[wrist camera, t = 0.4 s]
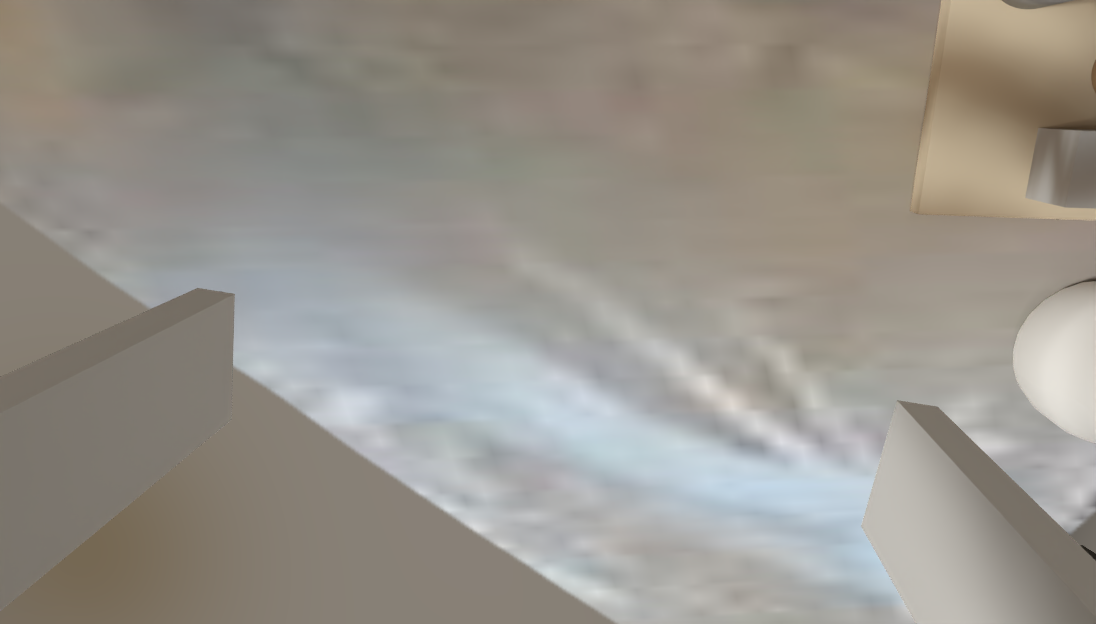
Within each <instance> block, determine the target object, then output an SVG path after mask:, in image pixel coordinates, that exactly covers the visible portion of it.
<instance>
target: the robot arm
mask: <svg viewBox="0 0 1096 624" xmlns="http://www.w3.org/2000/svg"><path fill="white" fill-rule="evenodd" d="M234 298H235V294H232V293H225V292H219V291H213V290H207V289H200V288H197V289H194V290H192V291H190V292H188V293H186V294H183V295H181V296H179V297H177V298H174V299H172V300H170V301H168V302H166V303H163V304H161V305H159V306H157V307H154V308H152V309H150V310H148V311H146V312H143V313H141V314H139V315H137V316H134V317H132V318H130V319H128V320H126V321H123V322H121V323H119V324H117V325H114V326H112V327H110V328H108V329H105V330H103V331H101V332H99V333H97V334H94V335H92V336H90V337H88V338H85V339H83V340H81V341H79V342H77V343H74V344H72V345H70V346H68V347H66V348H64V349H61V350H59V351H57V352H54V353H52V354H50V355H48V356H45V357H43V358H41V359H39V360H37V361H35V362H32V363H30V364H28V365H25V366H23V367H21V368H19V369H17V370H14V371H12V372H10V373H8V374H5V375H3V376H1V377H0V611H1V610H2V609H3V608H4V607H6V606H7V605H8V604H9V603H11V602H12V601H13V600H14V599H15V598H17V597H18V596H19V595H20V594H22V593H23V592H24V591H25V590H26V589H28V588H29V587H30V586H31V585H32V584H34V583H35V582H36V581H37V580H39V579H40V577H42V576H43V575H45V573H47V572H48V571H49V570H50V569H52V568H53V567H54V566H55V565H57V564H58V563H59V562H60V561H61V560H63V559H64V558H65V557H66V556H67V555H69V554H70V553H71V552H72V551H74V550H75V549H76V548H77V547H78V546H79V545H81V544H82V543H83V542H84V541H86V540H87V539H88V538H89V537H90V536H92V535H93V534H94V533H95V532H96V531H98V530H99V529H100V528H101V527H103V526H104V525H105V524H106V523H107V522H109V521H110V520H111V519H112V518H113V517H115V516H116V515H117V514H118V513H119V512H121V511H122V510H123V509H124V508H126V507H127V506H128V505H129V504H130V503H132V502H133V501H134V500H135V499H136V498H138V497H139V496H140V495H141V494H142V493H144V492H145V491H146V490H147V489H148V488H150V487H151V486H152V485H153V484H155V483H156V482H157V481H158V480H159V479H160V478H162V477H163V476H164V475H165V474H167V473H168V472H169V471H170V470H171V469H173V468H174V467H175V466H176V465H177V464H179V463H180V462H181V461H182V460H184V459H185V458H186V457H187V456H188V455H190V454H191V453H192V452H193V451H194V450H196V449H197V448H198V447H199V446H200V445H202V444H203V443H204V442H205V441H206V440H207V439H209V438H210V437H211V436H212V435H214V434H215V433H216V432H217V431H218V430H219V429H221V428H222V427H223V426H225V425H226V424H227V423H228V422H229V421H231V417H232V377H233V338H234ZM861 527H862V529H863V530H864V532H865V534H866V536H867V537H868V539H869V541H870V543H871V545H872V546H873V548H874V550H875V552H876V553H877V555H878V557H879V559H880V561H881V562H882V564H883V566H884V568H885V569H886V571H887V573H888V575H889V577H890V578H891V580H892V582H893V584H894V585H895V587H896V589H897V591H898V593H899V594H900V596H901V598H902V600H903V601H904V603H905V605H906V607H907V609H908V610H909V612H910V614H911V616H912V617H913V619H914V621H915V623H916V624H1096V554H1095V553H1094V552H1092V551H1091V550H1089V549H1087V548H1086V547H1084V546H1083V545H1079V544H1078V543H1077V542H1076V541H1075V540H1074V539H1073V538H1072V537H1071V536H1070V535H1069V534H1068V533H1067V532H1066V531H1065V530H1064V529H1063V528H1062V527H1061V526H1059V525H1058V524H1057V523H1056V522H1055V521H1054V520H1053V519H1052V518H1051V517H1050V516H1049V515H1048V514H1047V513H1046V512H1045V511H1044V510H1043V509H1042V508H1041V507H1040V506H1039V505H1038V504H1037V503H1036V502H1035V501H1034V500H1033V499H1032V498H1031V497H1030V496H1029V495H1028V494H1027V493H1026V492H1025V491H1024V490H1023V489H1021V488H1020V487H1019V486H1018V485H1017V484H1016V483H1015V482H1014V481H1013V480H1012V479H1011V478H1010V477H1009V476H1008V475H1007V474H1006V473H1005V472H1004V471H1003V470H1002V469H1001V468H1000V467H999V466H998V465H997V464H996V463H995V462H994V461H993V460H992V459H991V458H990V457H989V456H988V455H987V454H986V453H984V452H983V451H982V450H981V449H980V448H979V447H978V446H977V445H976V444H975V443H974V442H973V441H972V440H971V439H970V438H969V437H968V436H967V435H966V434H965V433H964V432H963V431H962V430H961V429H960V428H959V427H958V426H957V425H956V424H955V423H954V422H953V421H952V420H951V419H950V418H949V417H948V416H946V415H945V414H944V413H943V412H942V411H941V410H940V409H939V408H938V407H935V406H929V405H923V404H917V403H910V402H904V401H898V400H897V403H896V406H895V410H894V413H893V417H892V420H891V424H890V427H889V431H888V434H887V438H886V441H885V445H884V448H883V452H882V455H881V459H880V462H879V466H878V469H877V473H876V476H875V480H874V483H873V487H872V490H871V494H870V497H869V501H868V504H867V508H866V511H865V515H864V518H863V522H862V525H861Z"/></svg>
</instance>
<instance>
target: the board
mask: <svg viewBox="0 0 1096 624" xmlns="http://www.w3.org/2000/svg"><path fill="white" fill-rule="evenodd" d="M1095 60H1096V0H941V7H940V14H939V20H938V27H937V34H936V41H935V47H934V54H933V61H932V67H931V74H930V81H929V87H928V94H927V101H926V108H925V114H924V121H923V128H922V134H921V141H920V148H919V154H918V161H917V168H916V175H915V181H914V188H913V195H912V201H911V208H910V211H911V212H914V213H917V214H926V215H955V216H983V217H1012V218H1040V219H1069V220H1096V93H1095V91H1094V89H1093V85H1092V81H1091V73H1092V68H1093V65H1094V62H1095Z"/></svg>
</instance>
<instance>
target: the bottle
mask: <svg viewBox="0 0 1096 624" xmlns="http://www.w3.org/2000/svg"><path fill="white" fill-rule="evenodd" d="M1013 369H1014V373H1015V376H1016V379H1017V383H1018V385H1019V386H1020V388H1021V389H1022V391H1023V392H1024V394H1025V395H1026V397H1027V398H1028V400H1029V401H1030V402H1031V404H1032V405H1033V406H1034V408H1035V409H1037V410H1038V411H1039V412H1040V413H1042V414H1043V415H1044V416H1045V417H1047V418H1048V419H1049V420H1051V421H1052V422H1053V423H1055V424H1056V425H1057V426H1059V427H1060V428H1061V429H1063V430H1064V431H1065V432H1067V433H1069V434H1071V435H1074V436H1076V437H1079V438H1081V439H1083V440H1086V441H1089V442H1092V443H1095V444H1096V281H1091V282H1082V283H1079V284H1076V285H1073V286H1070V287H1068V288H1065V289H1062V290H1060V291H1059V292H1057V293H1055V294H1054V295H1052V296H1050V297H1049V298H1047V299H1046V300H1044V301H1042V302H1041V303H1040V304H1039V305H1038V306H1037V307H1036V308H1035V309H1034V310H1033V311H1032V312H1031V313H1030V314H1029V315H1028V317H1027V318H1026V320H1025V322H1024V323H1023V325H1022V326H1021V328H1020V330H1019V332H1018V335H1017V339H1016V342H1015V345H1014V349H1013Z"/></svg>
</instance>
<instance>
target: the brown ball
mask: <svg viewBox="0 0 1096 624" xmlns="http://www.w3.org/2000/svg"><path fill="white" fill-rule="evenodd" d="M1091 81H1092V85H1093V89H1094V91H1095V93H1096V60H1095V62H1094V65H1093V68H1092V73H1091Z"/></svg>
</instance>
